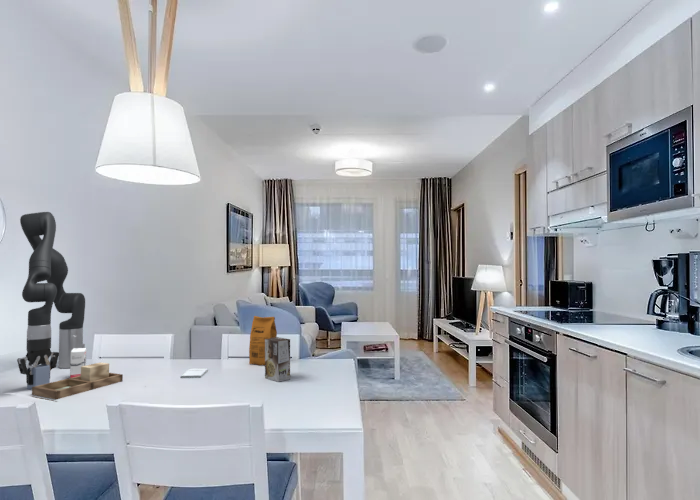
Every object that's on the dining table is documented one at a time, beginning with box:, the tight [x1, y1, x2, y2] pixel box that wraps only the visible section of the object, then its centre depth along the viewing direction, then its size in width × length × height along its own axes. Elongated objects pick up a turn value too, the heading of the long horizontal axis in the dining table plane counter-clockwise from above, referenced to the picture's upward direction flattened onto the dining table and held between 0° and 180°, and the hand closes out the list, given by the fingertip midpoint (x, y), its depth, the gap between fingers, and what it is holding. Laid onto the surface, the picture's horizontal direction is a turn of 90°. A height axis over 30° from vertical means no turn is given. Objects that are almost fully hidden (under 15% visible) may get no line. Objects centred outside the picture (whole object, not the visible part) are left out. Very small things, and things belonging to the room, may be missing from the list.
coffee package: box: [248, 315, 278, 366], centre depth 210 cm, size 10×12×22 cm
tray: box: [31, 372, 124, 403], centre depth 166 cm, size 26×13×3 cm, turn 156°
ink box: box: [69, 347, 87, 378], centre depth 182 cm, size 8×5×12 cm, turn 26°
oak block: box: [81, 361, 110, 382], centre depth 171 cm, size 8×5×7 cm, turn 156°
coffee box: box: [264, 336, 291, 383], centre depth 182 cm, size 9×6×16 cm
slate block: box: [26, 364, 51, 390], centre depth 166 cm, size 5×5×8 cm
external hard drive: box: [179, 368, 209, 379], centre depth 189 cm, size 2×8×12 cm
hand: (38, 382), depth 166 cm, fingers closed on slate block, 5 cm apart
